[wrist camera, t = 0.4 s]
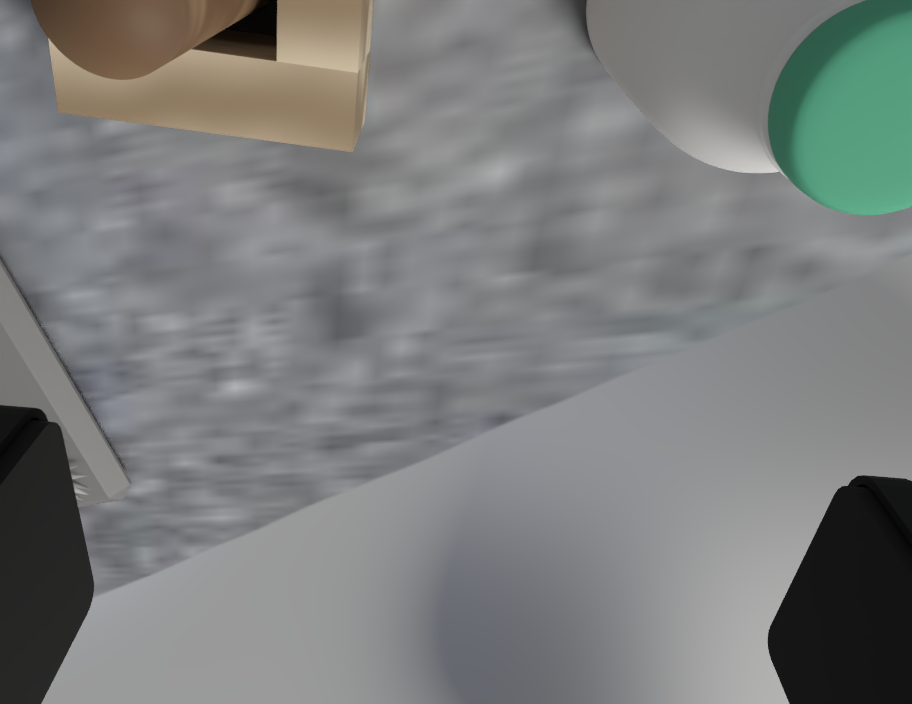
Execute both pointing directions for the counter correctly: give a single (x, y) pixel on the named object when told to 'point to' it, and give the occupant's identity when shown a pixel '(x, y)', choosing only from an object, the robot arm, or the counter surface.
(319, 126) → the eye block
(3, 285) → the decorative plate
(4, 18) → the counter surface
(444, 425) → the counter surface
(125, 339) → the counter surface
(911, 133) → the milk bottle
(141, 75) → the walnut peg
